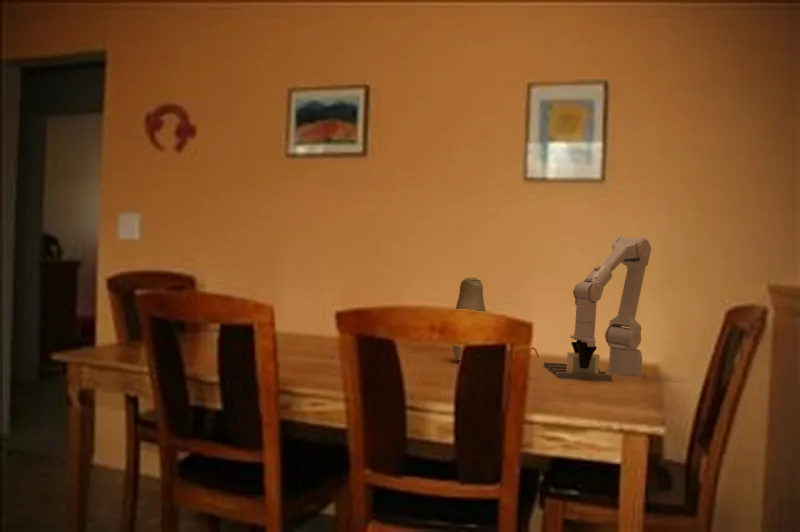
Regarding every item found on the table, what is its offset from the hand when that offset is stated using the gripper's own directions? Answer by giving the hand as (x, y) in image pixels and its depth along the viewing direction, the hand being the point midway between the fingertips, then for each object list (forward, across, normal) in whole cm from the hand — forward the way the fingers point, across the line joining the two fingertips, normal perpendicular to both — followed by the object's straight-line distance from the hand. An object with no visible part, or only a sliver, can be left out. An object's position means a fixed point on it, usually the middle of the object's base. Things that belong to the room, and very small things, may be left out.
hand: (582, 367), depth 188 cm
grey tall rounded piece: (+4, -19, -32) cm, 38 cm away
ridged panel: (+4, -5, 0) cm, 7 cm away
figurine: (+4, +6, -19) cm, 20 cm away
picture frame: (+3, 0, 0) cm, 3 cm away
